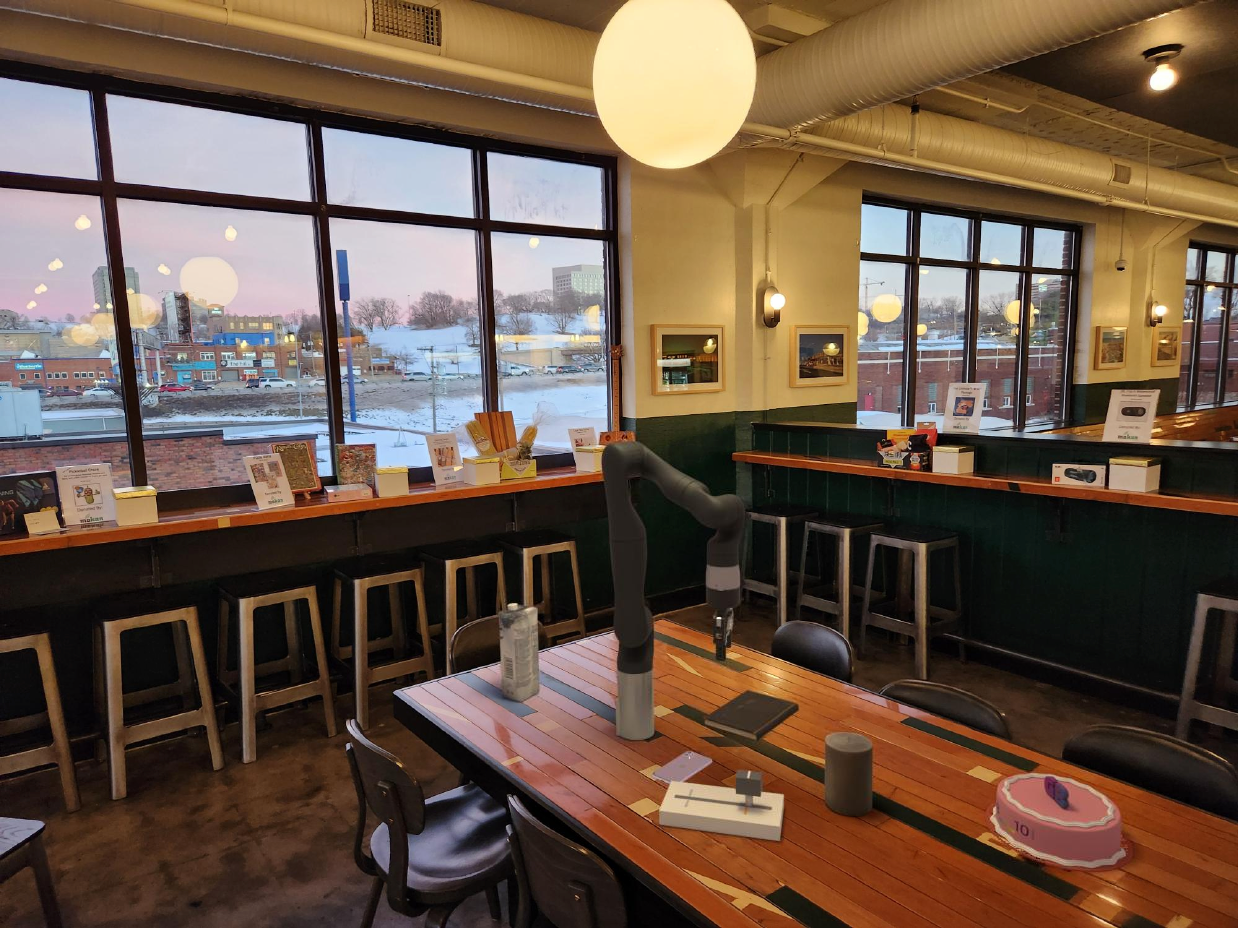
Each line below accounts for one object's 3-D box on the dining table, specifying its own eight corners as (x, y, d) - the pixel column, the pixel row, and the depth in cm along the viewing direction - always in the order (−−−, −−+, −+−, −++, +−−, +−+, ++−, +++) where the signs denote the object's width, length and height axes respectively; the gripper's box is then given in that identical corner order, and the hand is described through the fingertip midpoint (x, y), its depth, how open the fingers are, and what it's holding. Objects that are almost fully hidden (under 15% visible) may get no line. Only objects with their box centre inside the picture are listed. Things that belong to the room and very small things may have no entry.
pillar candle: (865, 821, 153) (866, 750, 152) (818, 808, 158) (818, 739, 157) (877, 799, 161) (878, 731, 160) (831, 787, 166) (832, 721, 165)
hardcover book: (703, 725, 199) (703, 717, 199) (747, 697, 217) (747, 689, 217) (757, 742, 189) (757, 733, 189) (798, 711, 207) (798, 703, 206)
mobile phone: (649, 773, 173) (688, 748, 184) (649, 777, 173) (688, 752, 184) (675, 784, 168) (714, 758, 179) (676, 788, 168) (714, 762, 179)
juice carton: (544, 691, 223) (541, 602, 221) (521, 704, 214) (517, 611, 212) (521, 685, 228) (517, 598, 225) (497, 698, 219) (494, 607, 217)
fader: (735, 806, 153) (735, 776, 153) (737, 798, 156) (737, 769, 156) (760, 809, 152) (760, 779, 151) (762, 801, 155) (762, 771, 154)
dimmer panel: (659, 824, 154) (659, 809, 153) (671, 793, 165) (671, 780, 165) (779, 840, 147) (779, 825, 147) (783, 807, 159) (783, 793, 158)
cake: (963, 799, 161) (964, 751, 160) (1081, 797, 160) (1083, 749, 159) (1025, 874, 136) (1027, 818, 135) (1165, 872, 136) (1168, 815, 135)
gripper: (711, 575, 177) (712, 642, 179) (701, 591, 164) (701, 663, 165) (743, 576, 175) (744, 644, 177) (735, 592, 162) (736, 666, 163)
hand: (723, 653), depth 171 cm, fingers open, 8 cm apart
